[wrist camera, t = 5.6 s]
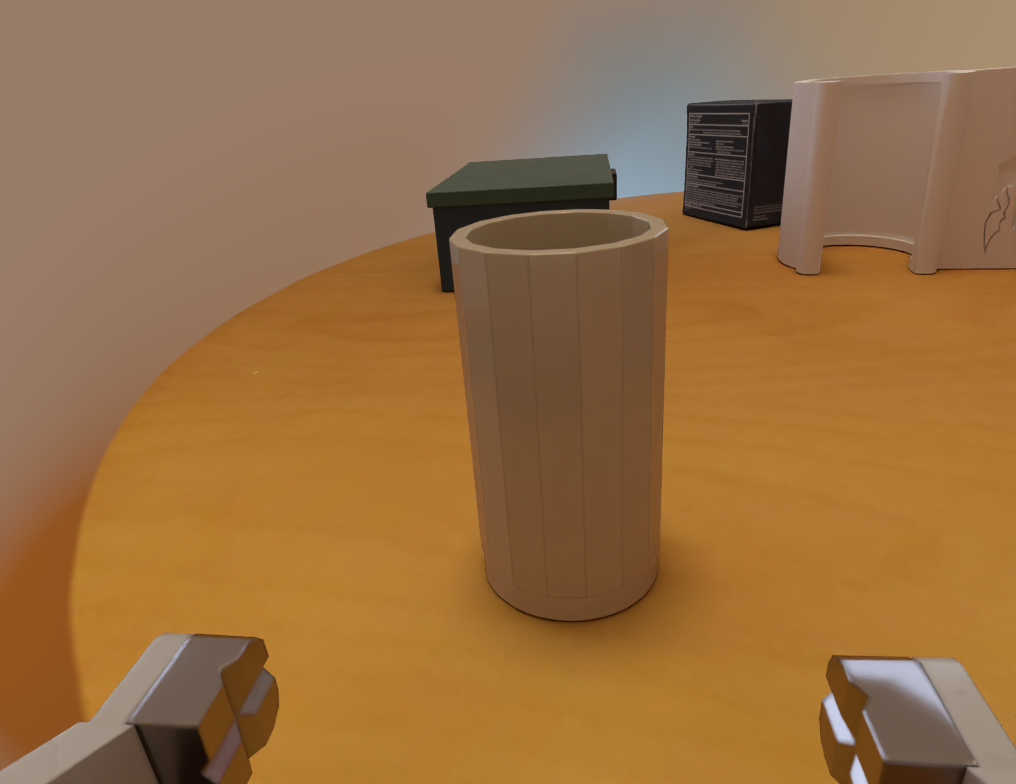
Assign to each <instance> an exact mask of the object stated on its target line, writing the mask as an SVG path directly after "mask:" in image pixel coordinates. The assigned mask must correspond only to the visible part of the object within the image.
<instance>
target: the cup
mask: <svg viewBox="0 0 1016 784" xmlns="http://www.w3.org/2000/svg"><path fill="white" fill-rule="evenodd" d="M668 231H669V229H668V227H667V225H666V223H665V221H664V220H663V219H660V218H657V217H654V216H651V215H648V214H645V213H638V212H630V211H621V210H603V209H580V210H579V209H571V210H552V211H539V212H531V213H523V214H514V215H509V216H502V217H498V218H493V219H488V220H483V221H479V222H476V223H473V224H471V225H468V226H465V227H463V228H460V229H458V230H456V231H455V232H454V234H453V235H452V236H451V237H450V238H449V243H450V253H451V262H452V272H453V281H454V291H455V300H456V310H457V319H458V329H459V338H460V348H461V357H462V366H463V376H464V385H465V395H466V404H467V414H468V423H469V433H470V442H471V452H472V461H473V471H474V480H475V489H476V499H477V508H478V518H479V527H480V537H481V546H482V550H483V552H484V560H485V570H486V574H487V578H488V580H489V582H490V584H491V586H492V587H493V589H494V590H495V591H496V593H497V594H498V595H499V596H500V597H501V598H502V599H503V600H505V601H506V602H508V603H509V604H510V605H512V606H514V607H515V608H517V609H519V610H521V611H523V612H526V613H529V614H531V615H534V616H538V617H542V618H546V619H552V620H562V621H582V620H591V619H596V618H601V617H605V616H608V615H611V614H614V613H617V612H619V611H621V610H624V609H626V608H628V607H629V606H631V605H632V604H634V603H636V602H637V601H638V600H639V599H640V598H642V597H643V596H644V595H645V594H646V592H647V591H648V590H649V589H650V587H651V586H652V584H653V582H654V580H655V578H656V575H657V570H658V552H659V548H660V522H661V486H662V449H663V413H664V377H665V340H666V304H667V268H668Z"/></svg>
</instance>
